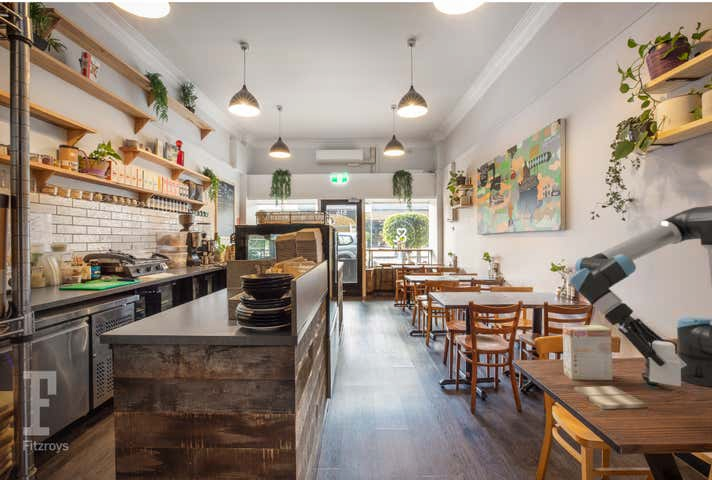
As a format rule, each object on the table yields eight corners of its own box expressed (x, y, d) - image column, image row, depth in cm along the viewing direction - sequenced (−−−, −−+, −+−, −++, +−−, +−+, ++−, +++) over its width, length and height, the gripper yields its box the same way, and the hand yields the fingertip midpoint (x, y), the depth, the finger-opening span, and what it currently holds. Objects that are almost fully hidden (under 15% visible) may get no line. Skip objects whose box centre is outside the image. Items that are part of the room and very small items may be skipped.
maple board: (612, 389, 128) (612, 385, 128) (645, 407, 114) (645, 403, 114) (574, 390, 127) (574, 387, 127) (602, 409, 113) (602, 405, 113)
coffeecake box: (602, 373, 143) (601, 324, 143) (613, 380, 136) (612, 329, 136) (562, 373, 144) (561, 324, 144) (571, 380, 137) (570, 329, 137)
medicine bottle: (649, 374, 113) (648, 336, 113) (679, 379, 109) (678, 339, 109) (649, 381, 108) (648, 341, 108) (681, 387, 103) (680, 345, 103)
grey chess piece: (666, 389, 127) (665, 355, 127) (647, 388, 128) (646, 354, 128) (656, 383, 133) (655, 350, 133) (637, 382, 134) (637, 349, 134)
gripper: (615, 311, 127) (676, 369, 114) (591, 320, 114) (656, 386, 101) (633, 298, 123) (698, 356, 110) (610, 306, 110) (681, 373, 97)
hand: (678, 371), depth 105 cm, fingers closed on medicine bottle, 8 cm apart
